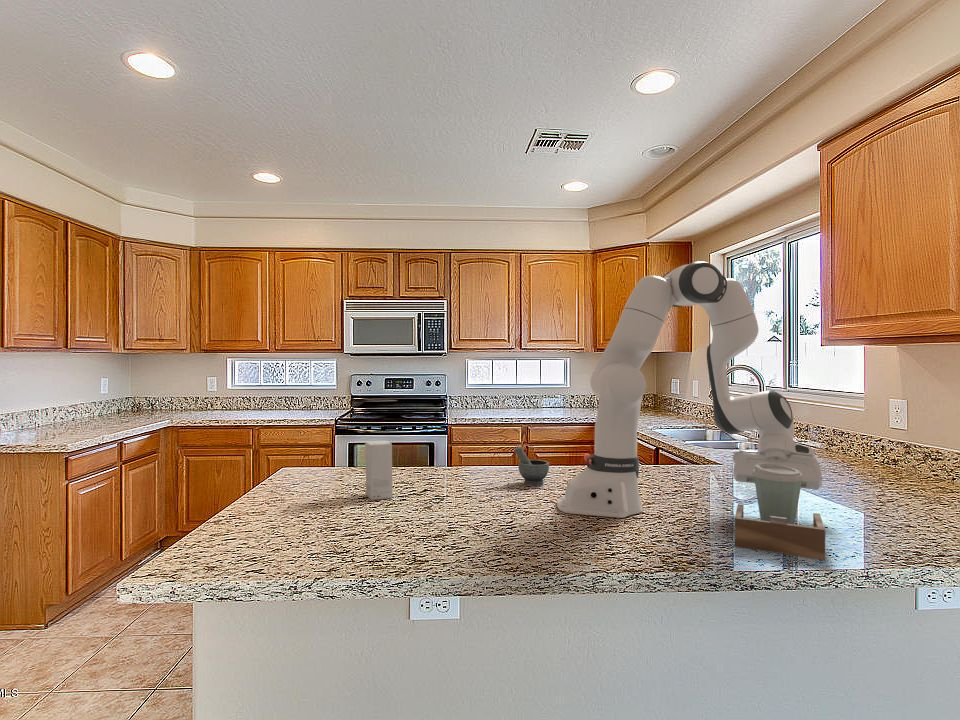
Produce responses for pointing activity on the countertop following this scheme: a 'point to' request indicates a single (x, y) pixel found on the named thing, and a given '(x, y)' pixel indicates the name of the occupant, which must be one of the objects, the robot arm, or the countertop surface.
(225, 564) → the countertop surface
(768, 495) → the disposable coffee cup
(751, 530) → the dock cradle
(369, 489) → the skincare box
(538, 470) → the mortar and pestle
